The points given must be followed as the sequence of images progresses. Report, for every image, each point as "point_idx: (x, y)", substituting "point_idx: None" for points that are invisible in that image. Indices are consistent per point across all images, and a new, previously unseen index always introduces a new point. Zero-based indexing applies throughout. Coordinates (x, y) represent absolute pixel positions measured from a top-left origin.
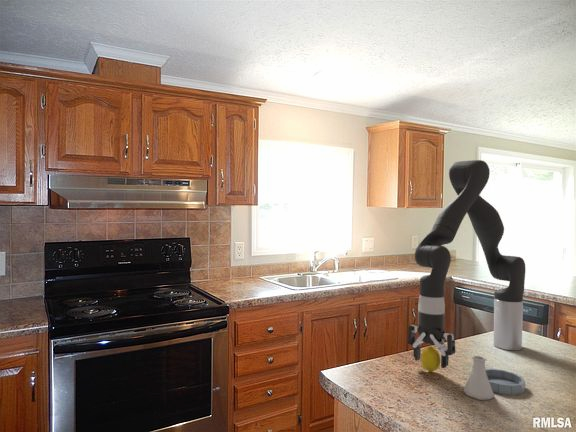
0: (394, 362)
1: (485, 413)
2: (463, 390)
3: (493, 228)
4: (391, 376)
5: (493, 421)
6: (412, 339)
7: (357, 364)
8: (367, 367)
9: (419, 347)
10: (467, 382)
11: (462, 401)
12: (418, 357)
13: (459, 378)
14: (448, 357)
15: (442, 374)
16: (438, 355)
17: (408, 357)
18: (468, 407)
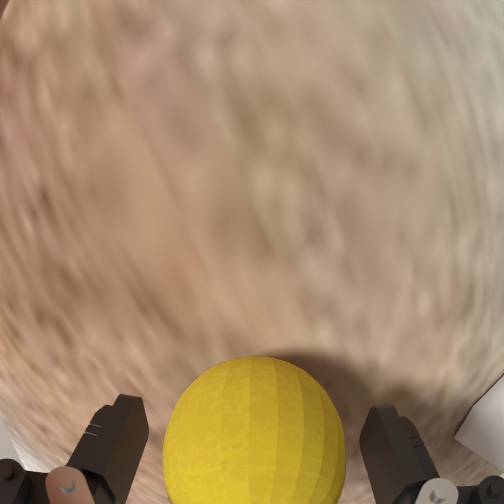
0: (28, 354)
1: (487, 467)
2: (456, 439)
3: None
4: (154, 487)
5: (493, 474)
6: (5, 495)
7: (14, 439)
8: (45, 451)
9: (98, 477)
10: (483, 458)
11: (443, 474)
12: (140, 431)
13: (441, 326)
14: (434, 467)
15: (338, 349)
16: (341, 490)
17: (6, 210)
18: (455, 480)
